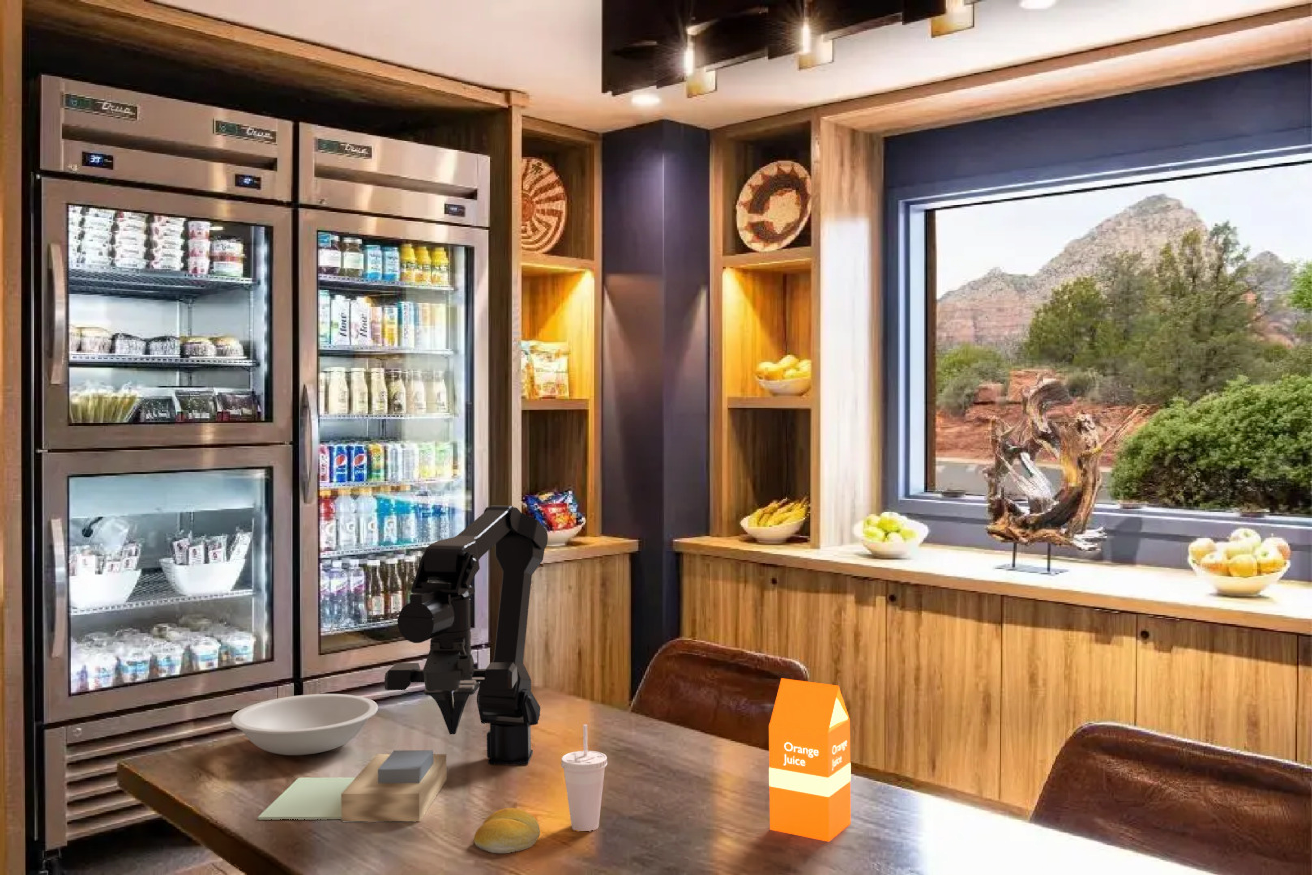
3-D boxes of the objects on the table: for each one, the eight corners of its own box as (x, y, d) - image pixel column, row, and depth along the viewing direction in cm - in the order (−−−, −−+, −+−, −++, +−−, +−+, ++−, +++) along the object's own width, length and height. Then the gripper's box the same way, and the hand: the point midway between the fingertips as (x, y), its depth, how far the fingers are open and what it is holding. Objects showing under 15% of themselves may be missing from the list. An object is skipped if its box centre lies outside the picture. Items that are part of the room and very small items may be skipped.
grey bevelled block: (433, 763, 174) (433, 750, 174) (419, 782, 165) (419, 769, 165) (394, 763, 174) (394, 750, 174) (378, 783, 165) (377, 769, 165)
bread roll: (467, 854, 149) (466, 824, 149) (489, 829, 158) (488, 800, 158) (528, 857, 148) (527, 827, 148) (547, 832, 157) (546, 803, 157)
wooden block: (446, 779, 179) (446, 754, 179) (419, 821, 161) (418, 793, 161) (376, 779, 179) (376, 754, 179) (341, 821, 161) (341, 793, 161)
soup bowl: (356, 771, 183) (355, 731, 183) (208, 772, 184) (206, 732, 184) (394, 729, 207) (393, 692, 207) (262, 730, 208) (261, 693, 208)
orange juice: (829, 842, 151) (827, 692, 151) (768, 829, 156) (767, 684, 155) (851, 823, 158) (850, 679, 157) (793, 811, 163) (792, 672, 162)
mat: (374, 779, 179) (374, 777, 179) (341, 819, 162) (341, 816, 162) (298, 779, 179) (298, 777, 179) (258, 819, 162) (258, 816, 162)
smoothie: (615, 821, 160) (613, 721, 160) (598, 837, 154) (596, 734, 153) (573, 816, 162) (571, 718, 162) (554, 832, 156) (552, 730, 156)
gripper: (372, 641, 161) (375, 750, 162) (504, 640, 161) (507, 750, 161) (393, 625, 172) (395, 727, 173) (516, 624, 172) (518, 727, 172)
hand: (453, 733), depth 169 cm, fingers closed
